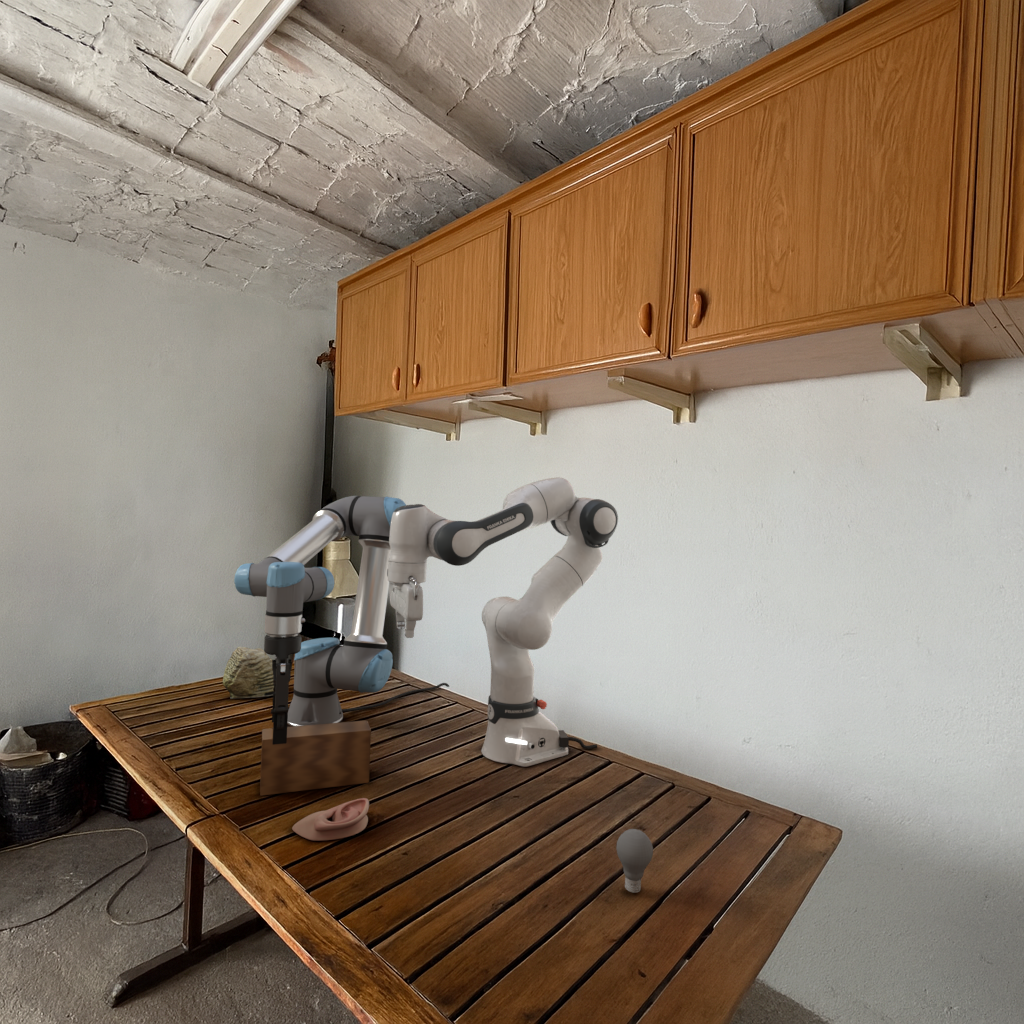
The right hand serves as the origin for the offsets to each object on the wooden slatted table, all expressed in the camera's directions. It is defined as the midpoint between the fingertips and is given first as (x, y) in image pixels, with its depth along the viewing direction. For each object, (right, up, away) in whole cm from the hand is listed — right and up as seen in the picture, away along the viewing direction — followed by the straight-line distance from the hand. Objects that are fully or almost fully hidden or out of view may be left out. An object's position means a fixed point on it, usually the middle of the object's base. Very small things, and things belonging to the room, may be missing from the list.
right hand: (404, 632), depth 148 cm
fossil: (-56, -29, +50) cm, 80 cm away
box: (-19, -32, -7) cm, 38 cm away
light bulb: (+45, -35, -42) cm, 71 cm away
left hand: (-25, -19, -11) cm, 34 cm away
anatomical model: (-10, -33, -26) cm, 43 cm away
